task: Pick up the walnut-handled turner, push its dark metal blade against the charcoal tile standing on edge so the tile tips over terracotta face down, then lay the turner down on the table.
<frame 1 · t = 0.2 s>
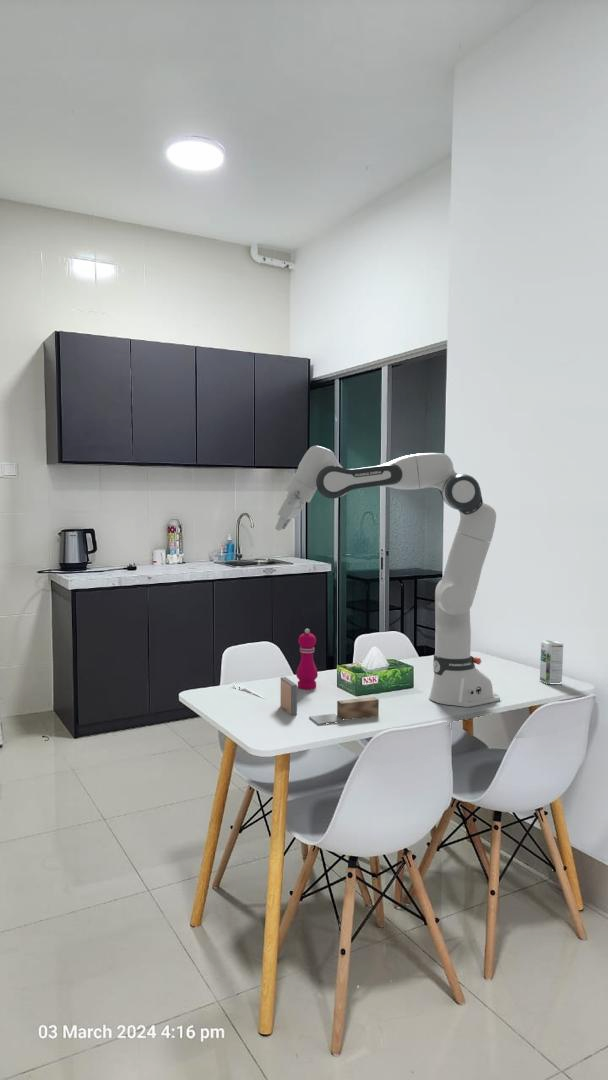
hand: (279, 529, 238), 54 cm above the table, tool tilted 30°, fingers open, 8 cm apart
fork: (250, 694, 241), on the table
turner: (357, 716, 216), on the table
tile: (288, 710, 222), on the table
pepper mill: (306, 687, 248), on the table
syrup box: (550, 683, 256), on the table
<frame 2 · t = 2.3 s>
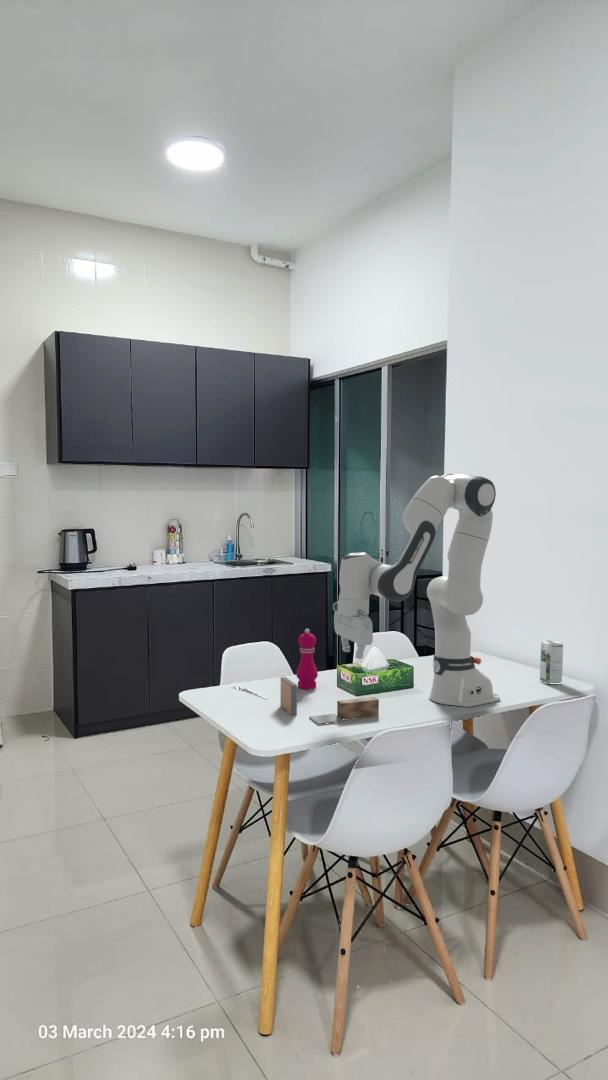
hand: (352, 654, 215), 18 cm above the table, tool pointing down, fingers open, 8 cm apart
nothing on the table moved.
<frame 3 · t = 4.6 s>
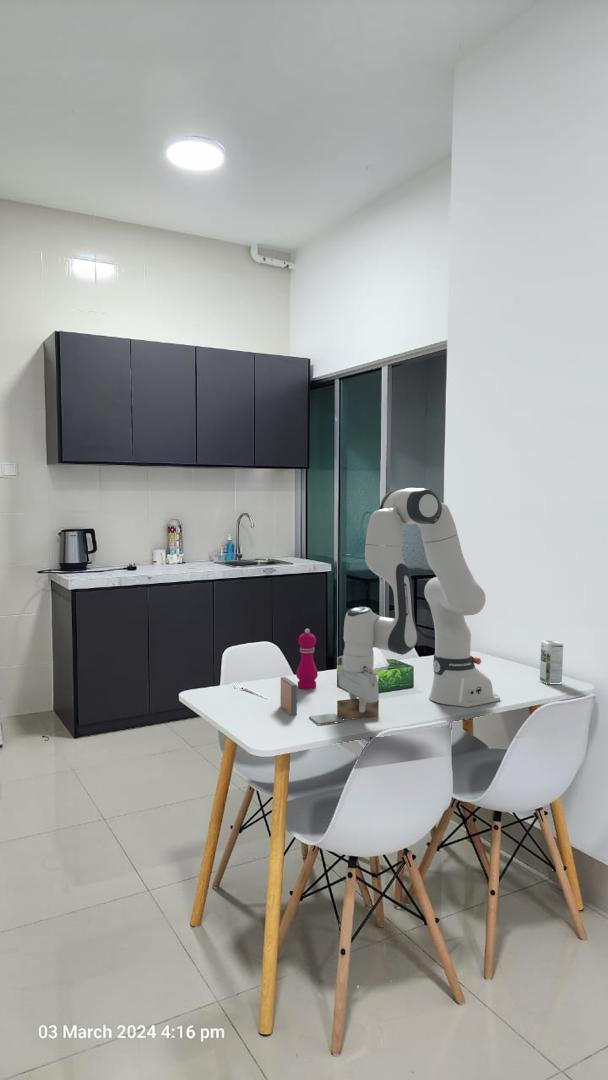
hand: (357, 709, 215), 2 cm above the table, tool pointing down, fingers closed on turner, 3 cm apart
turner: (357, 716, 216), on the table, touching gripper
everything else where it was.
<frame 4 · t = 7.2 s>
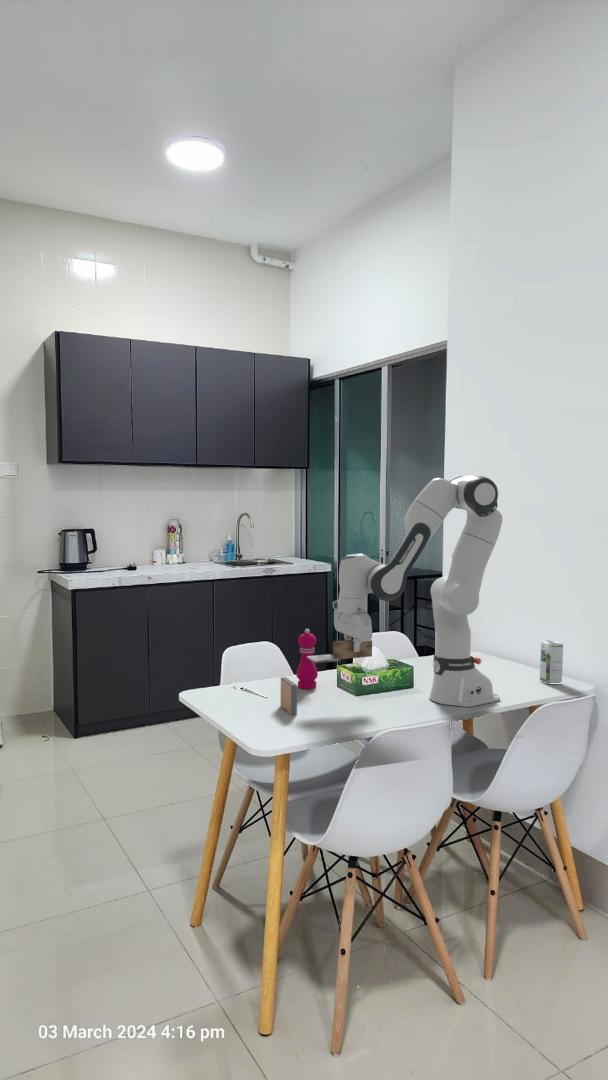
hand: (352, 650, 227), 17 cm above the table, tool pointing down, fingers closed on turner, 3 cm apart
turner: (352, 656, 228), point 15 cm above the table, touching gripper
everything else where it was.
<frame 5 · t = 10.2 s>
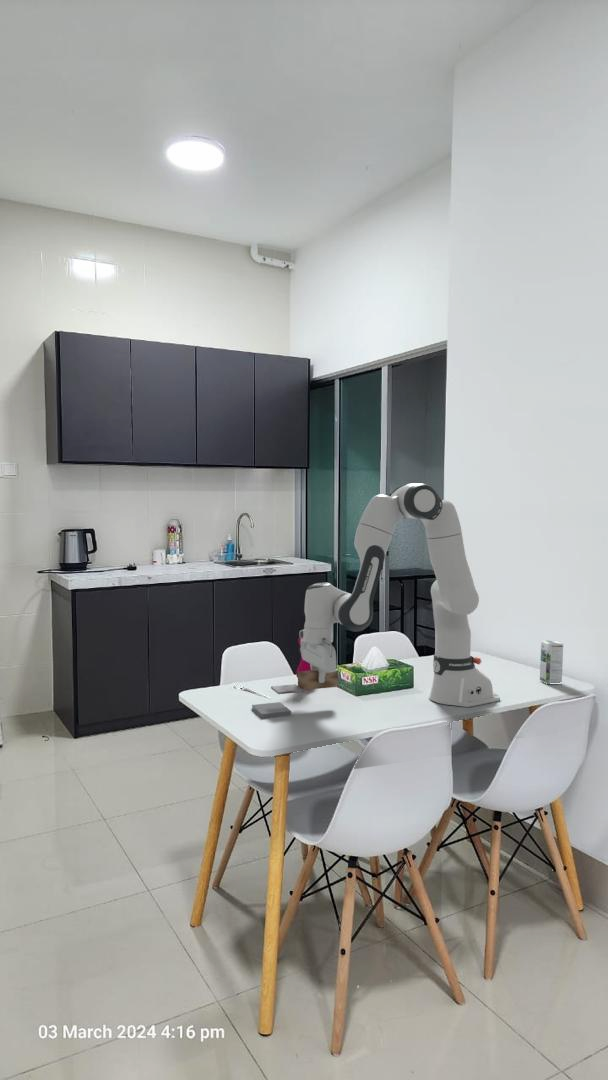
hand: (318, 680, 225), 8 cm above the table, tool pointing down, fingers closed on turner, 3 cm apart
turner: (317, 687, 225), point 6 cm above the table, touching gripper
tile: (285, 709, 221), on the table, tilted 90°
everything else where it was.
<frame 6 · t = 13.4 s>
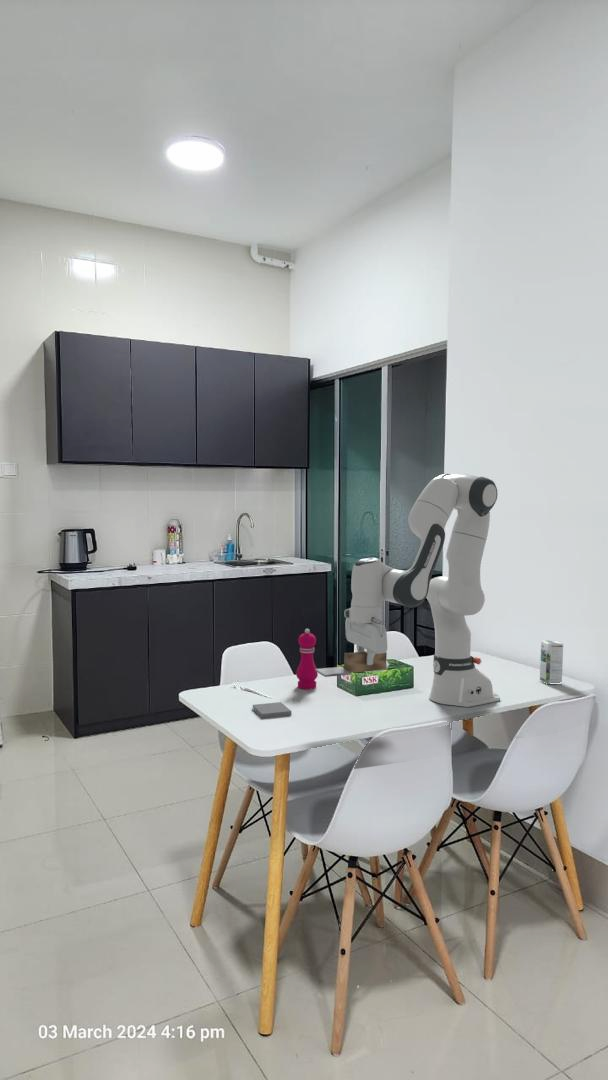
hand: (365, 662, 210), 17 cm above the table, tool pointing down, fingers closed on turner, 3 cm apart
turner: (365, 670, 210), point 15 cm above the table, touching gripper
when the fingers open (3 cm above the table, at t = 16.4 s): turner stays where it is, on the table.
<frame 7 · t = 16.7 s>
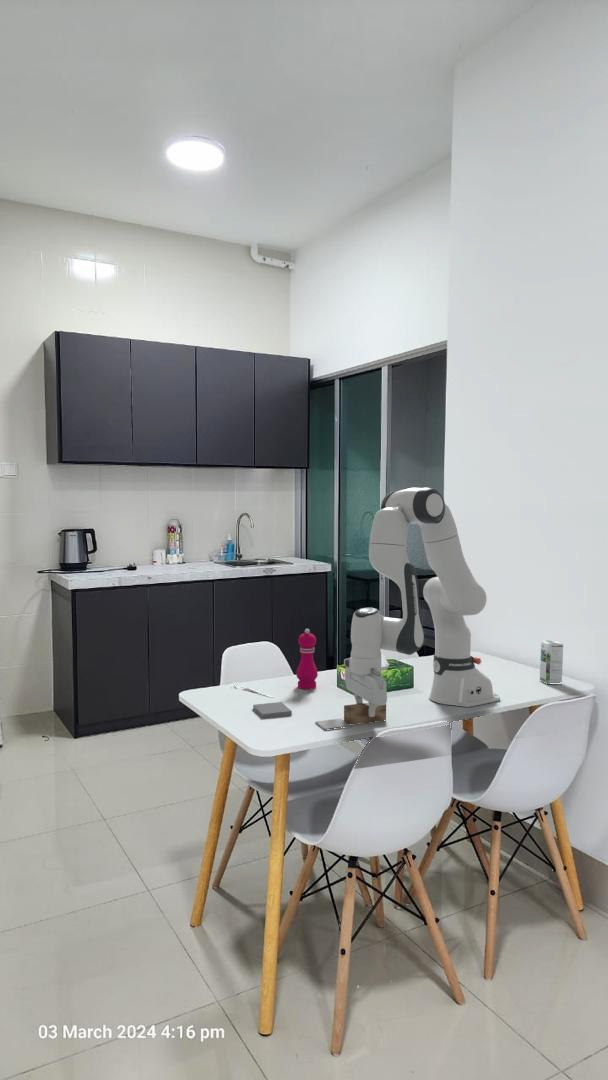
hand: (365, 712, 211), 3 cm above the table, tool pointing down, fingers open, 6 cm apart
turner: (365, 721, 211), on the table
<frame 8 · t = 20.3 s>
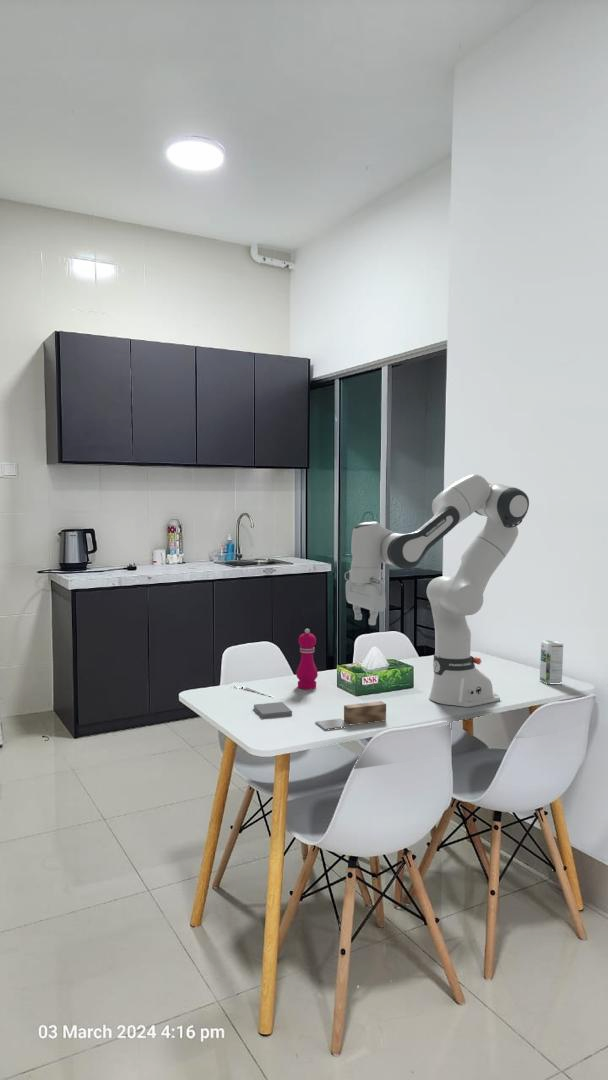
hand: (365, 622, 219), 27 cm above the table, tool pointing down, fingers open, 8 cm apart
at the end: tile tilted 90°; turner inside the target area (0.1 cm from its centre), on the table; the gripper is holding nothing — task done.
